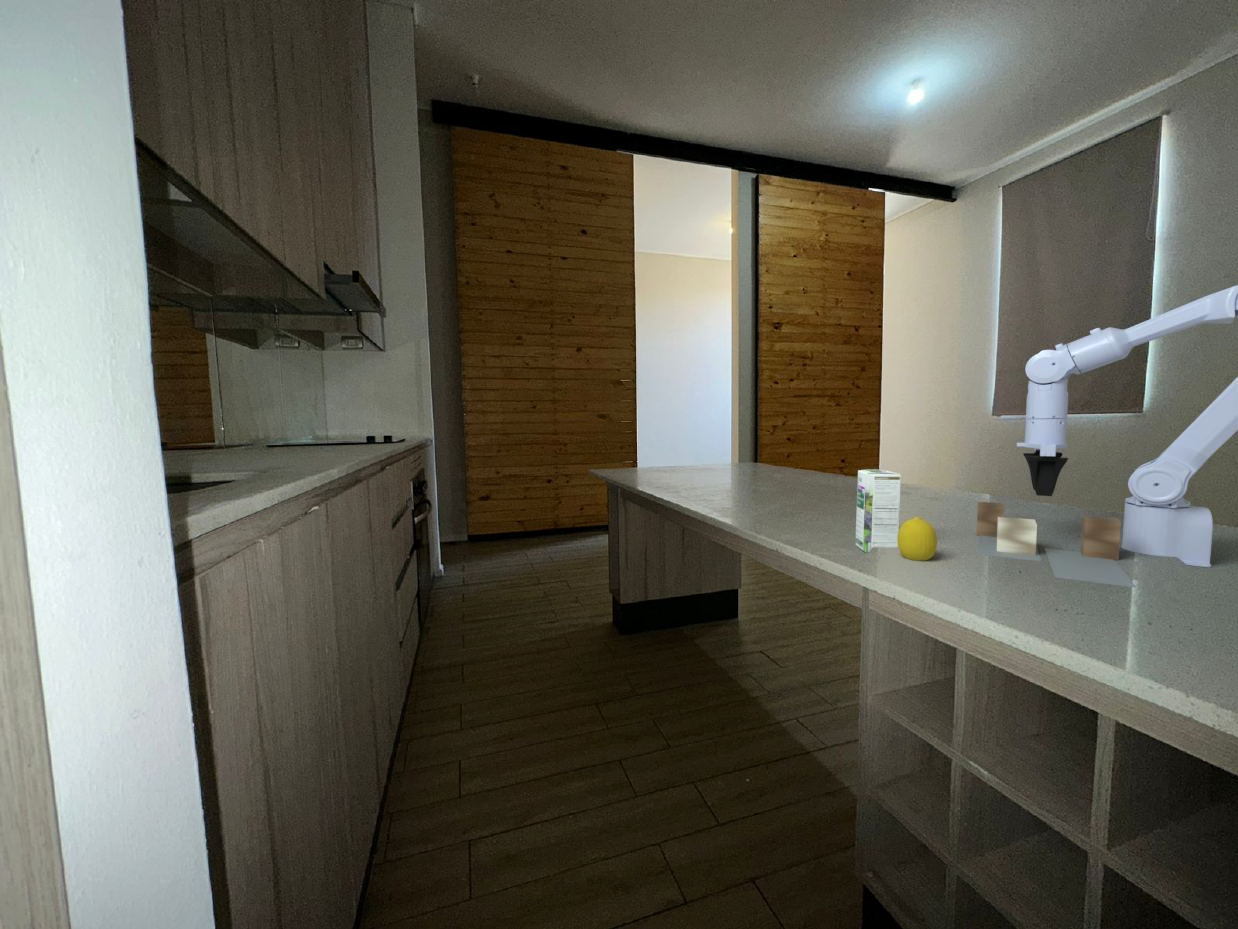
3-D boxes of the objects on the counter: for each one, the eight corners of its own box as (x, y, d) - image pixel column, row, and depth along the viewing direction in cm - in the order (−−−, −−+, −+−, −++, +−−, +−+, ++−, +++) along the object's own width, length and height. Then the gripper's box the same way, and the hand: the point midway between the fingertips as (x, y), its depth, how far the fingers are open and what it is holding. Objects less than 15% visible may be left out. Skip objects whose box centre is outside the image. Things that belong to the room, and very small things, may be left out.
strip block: (1033, 542, 91) (1035, 505, 91) (1040, 567, 77) (1043, 523, 76) (976, 537, 97) (978, 501, 96) (973, 559, 82) (975, 517, 82)
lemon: (944, 569, 78) (945, 519, 77) (908, 570, 78) (909, 520, 77) (923, 559, 83) (924, 513, 83) (890, 560, 84) (891, 513, 83)
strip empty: (1114, 561, 79) (1117, 518, 78) (1141, 595, 65) (1144, 542, 64) (1044, 554, 84) (1046, 513, 83) (1054, 583, 70) (1057, 535, 69)
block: (1033, 548, 84) (1034, 519, 84) (1035, 555, 80) (1037, 525, 80) (996, 544, 87) (997, 516, 87) (996, 551, 83) (998, 521, 83)
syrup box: (854, 545, 94) (855, 469, 92) (887, 545, 93) (889, 468, 92) (864, 553, 88) (866, 472, 87) (900, 553, 87) (902, 472, 86)
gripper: (1016, 418, 98) (1013, 486, 99) (1019, 419, 87) (1016, 496, 88) (1063, 417, 94) (1060, 488, 95) (1073, 419, 82) (1069, 499, 84)
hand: (1042, 492), depth 91 cm, fingers open, 7 cm apart
